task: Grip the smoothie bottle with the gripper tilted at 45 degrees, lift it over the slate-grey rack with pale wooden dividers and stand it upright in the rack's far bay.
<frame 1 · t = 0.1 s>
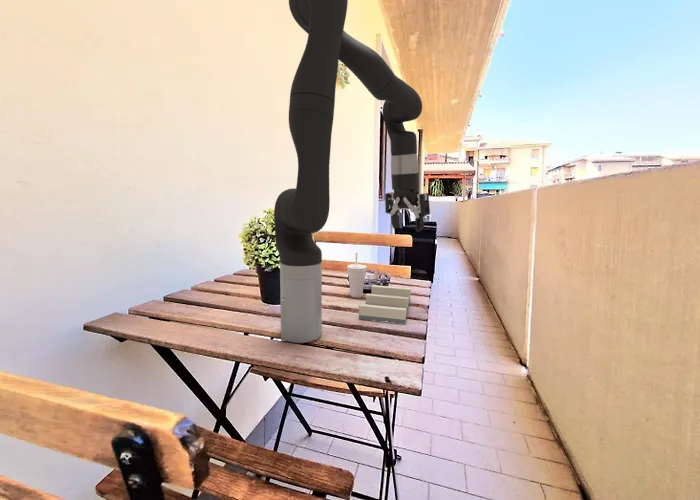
hand: (407, 229, 97), 22 cm above the table, tool pointing down, fingers open, 8 cm apart
smoothie: (356, 296, 107), on the table
rack: (386, 308, 96), on the table
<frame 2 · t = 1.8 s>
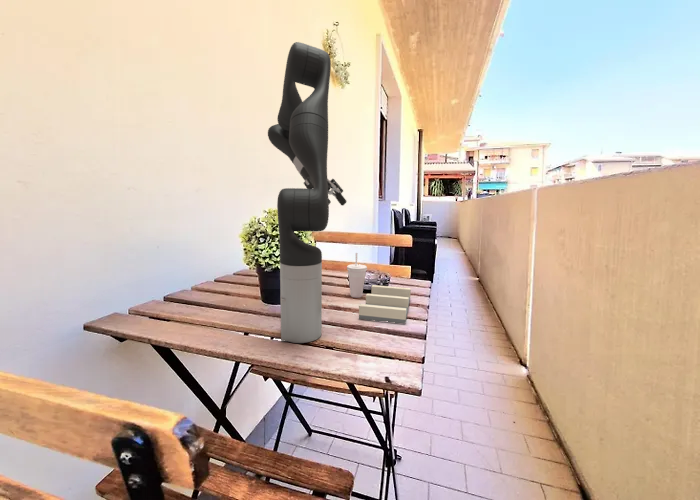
hand: (336, 204, 107), 29 cm above the table, tool tilted 45°, fingers open, 8 cm apart
nothing on the table moved.
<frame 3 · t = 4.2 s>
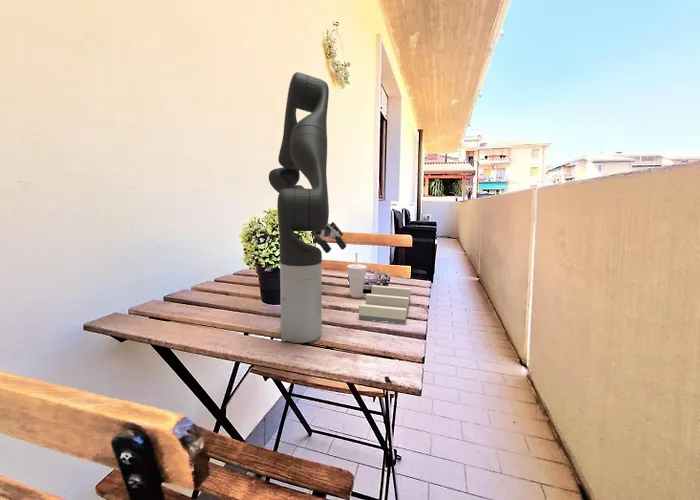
hand: (337, 249, 109), 14 cm above the table, tool tilted 45°, fingers open, 8 cm apart
nothing on the table moved.
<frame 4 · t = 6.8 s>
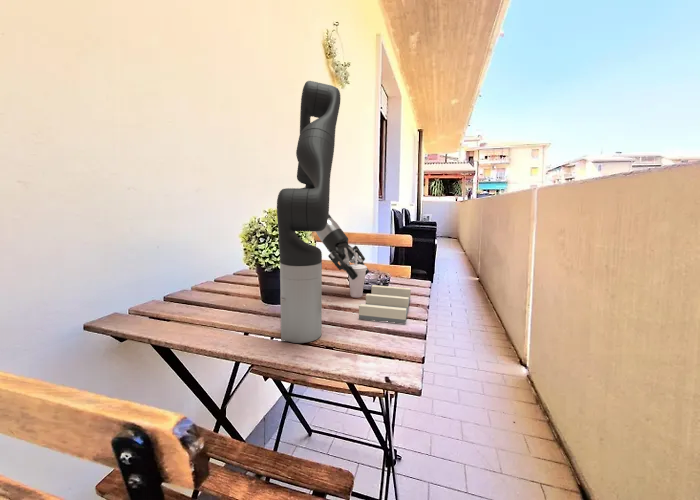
hand: (361, 275, 105), 7 cm above the table, tool tilted 45°, fingers closed on smoothie, 6 cm apart
smoothie: (356, 296, 107), on the table, touching gripper
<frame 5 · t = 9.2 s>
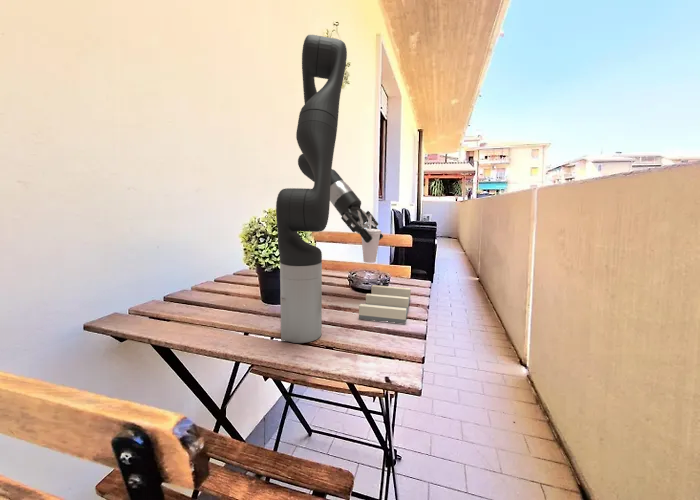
hand: (375, 239, 100), 19 cm above the table, tool tilted 45°, fingers closed on smoothie, 6 cm apart
smoothie: (369, 262, 102), point 12 cm above the table, touching gripper
when the fingers open (10 cm above the table, at t = 12.0 s): smoothie drops 2 cm, resting on rack.
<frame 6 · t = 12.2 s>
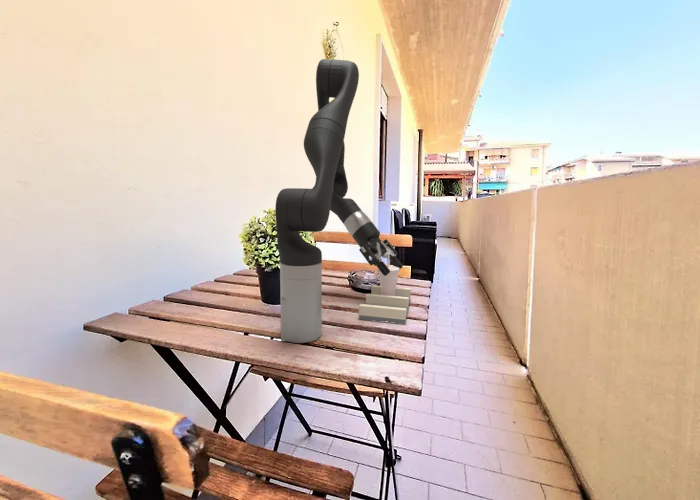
hand: (394, 271, 98), 10 cm above the table, tool tilted 45°, fingers open, 8 cm apart
smoothie: (387, 300, 100), point 1 cm above the table, touching rack
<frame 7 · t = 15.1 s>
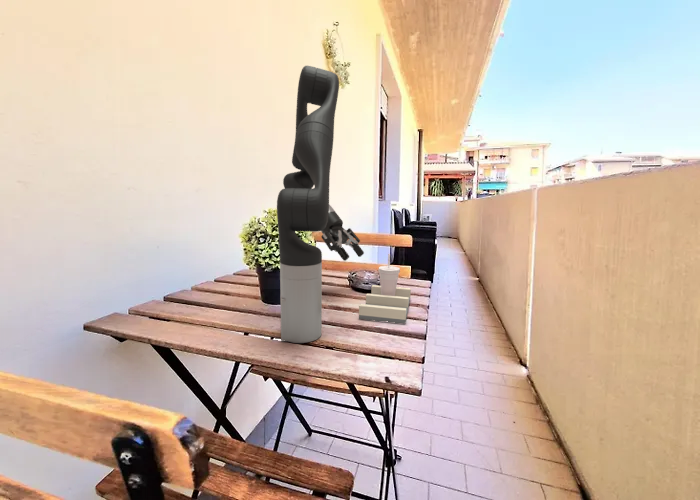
hand: (354, 257, 105), 13 cm above the table, tool tilted 45°, fingers open, 8 cm apart
nothing on the table moved.
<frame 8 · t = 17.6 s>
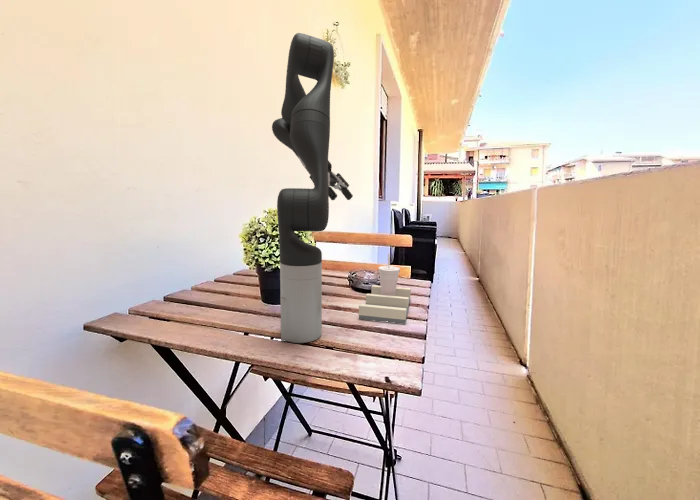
hand: (343, 198, 105), 31 cm above the table, tool tilted 45°, fingers open, 8 cm apart
nothing on the table moved.
at the end: smoothie 0.3 cm from the target spot on the rack, point 1.0 cm above the rack's base; smoothie tilted 0°; the gripper is holding nothing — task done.
